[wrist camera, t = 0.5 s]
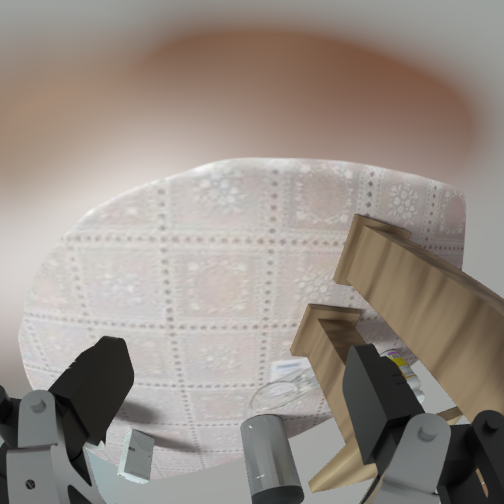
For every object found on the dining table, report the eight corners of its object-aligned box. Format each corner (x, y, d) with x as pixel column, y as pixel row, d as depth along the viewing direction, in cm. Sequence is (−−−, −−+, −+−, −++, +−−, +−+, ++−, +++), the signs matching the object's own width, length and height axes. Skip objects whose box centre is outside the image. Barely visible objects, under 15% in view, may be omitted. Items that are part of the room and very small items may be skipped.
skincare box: (155, 438, 49) (151, 481, 37) (146, 444, 49) (142, 485, 38) (131, 427, 47) (124, 472, 35) (123, 433, 47) (116, 475, 36)
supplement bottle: (372, 377, 50) (399, 420, 38) (367, 360, 47) (397, 406, 35) (398, 361, 49) (429, 400, 37) (395, 343, 47) (429, 385, 35)
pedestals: (268, 350, 42) (332, 558, 11) (316, 203, 35) (571, 388, 3) (359, 354, 46) (450, 501, 14) (413, 232, 38) (586, 348, 7)
